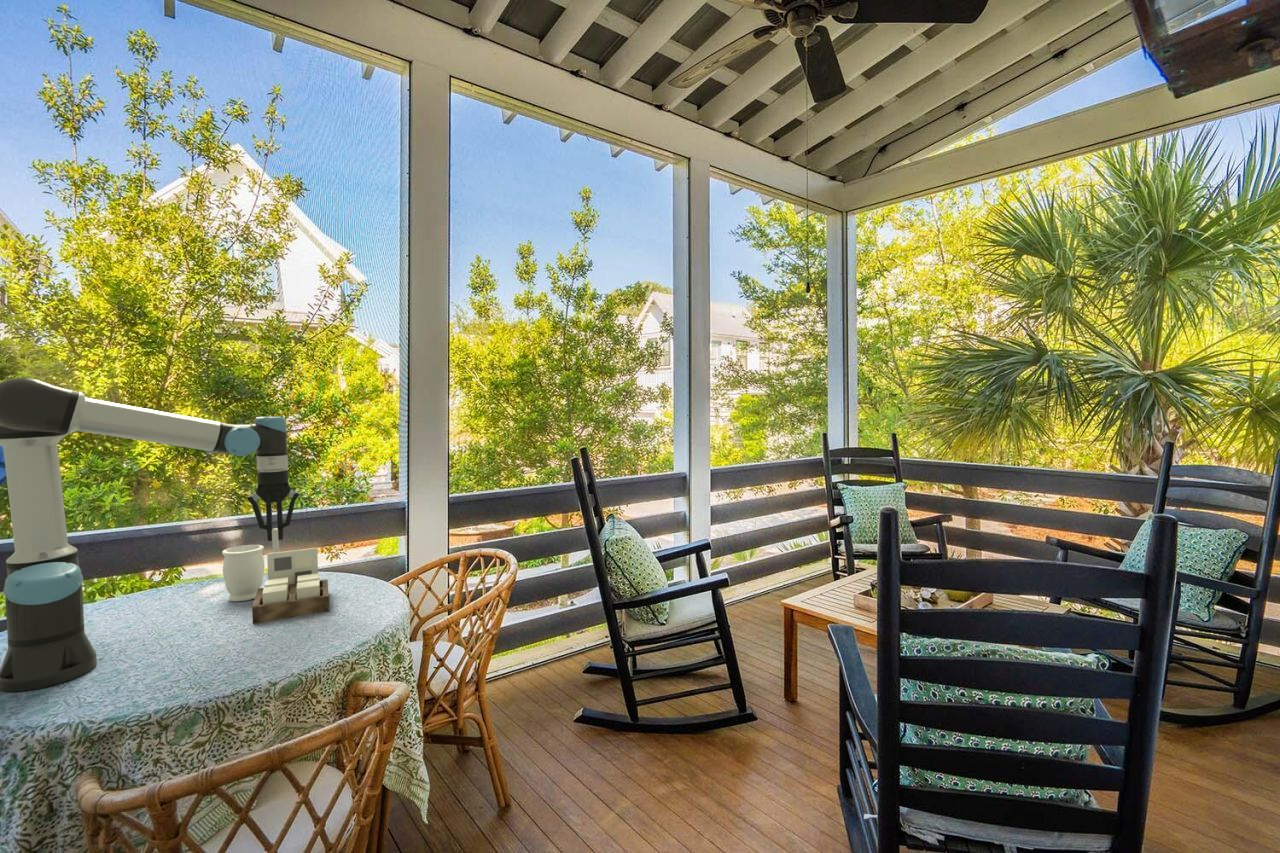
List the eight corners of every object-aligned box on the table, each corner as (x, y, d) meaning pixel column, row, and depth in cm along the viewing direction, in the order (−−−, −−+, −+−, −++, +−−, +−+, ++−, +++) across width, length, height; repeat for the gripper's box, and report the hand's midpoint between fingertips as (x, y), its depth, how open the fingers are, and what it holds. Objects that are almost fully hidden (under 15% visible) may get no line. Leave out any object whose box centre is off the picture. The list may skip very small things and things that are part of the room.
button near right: (296, 602, 162) (296, 588, 161) (297, 596, 167) (296, 583, 166) (319, 599, 164) (319, 585, 164) (319, 593, 169) (319, 580, 169)
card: (268, 600, 173) (267, 554, 172) (269, 599, 174) (267, 553, 173) (318, 593, 179) (317, 548, 179) (318, 592, 180) (317, 547, 180)
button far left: (264, 599, 165) (264, 585, 165) (266, 593, 170) (265, 580, 169) (288, 595, 167) (287, 582, 167) (288, 590, 172) (288, 577, 172)
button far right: (297, 594, 169) (297, 580, 168) (298, 589, 173) (297, 575, 173) (319, 591, 171) (319, 577, 171) (319, 586, 176) (319, 573, 176)
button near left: (262, 608, 158) (262, 593, 158) (264, 601, 163) (263, 587, 162) (286, 604, 160) (286, 590, 160) (287, 598, 165) (287, 584, 165)
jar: (272, 595, 178) (270, 547, 177) (234, 605, 169) (232, 554, 168) (255, 589, 183) (253, 542, 183) (217, 599, 175) (215, 549, 174)
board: (252, 623, 155) (252, 607, 155) (258, 603, 171) (257, 588, 170) (329, 611, 164) (328, 596, 163) (327, 593, 179) (327, 579, 179)
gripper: (244, 473, 160) (247, 557, 162) (298, 470, 167) (301, 551, 168) (246, 470, 167) (250, 551, 168) (299, 467, 173) (302, 545, 174)
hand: (276, 551), depth 168 cm, fingers closed
